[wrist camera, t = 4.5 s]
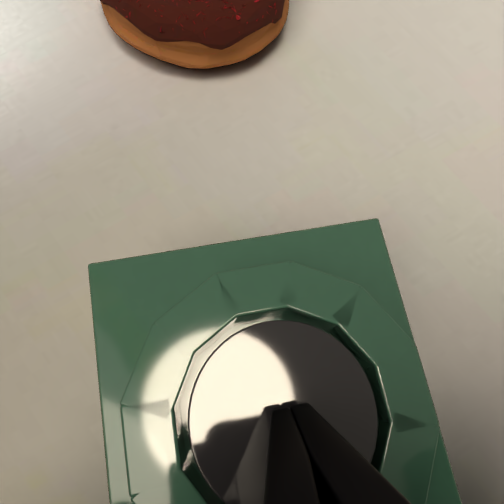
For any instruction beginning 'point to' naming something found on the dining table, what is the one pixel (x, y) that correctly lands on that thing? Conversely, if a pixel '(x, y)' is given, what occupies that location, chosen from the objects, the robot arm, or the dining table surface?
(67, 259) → the dining table surface
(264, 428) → the dark round knob
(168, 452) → the button base
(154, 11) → the donut
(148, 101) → the dining table surface
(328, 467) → the robot arm
